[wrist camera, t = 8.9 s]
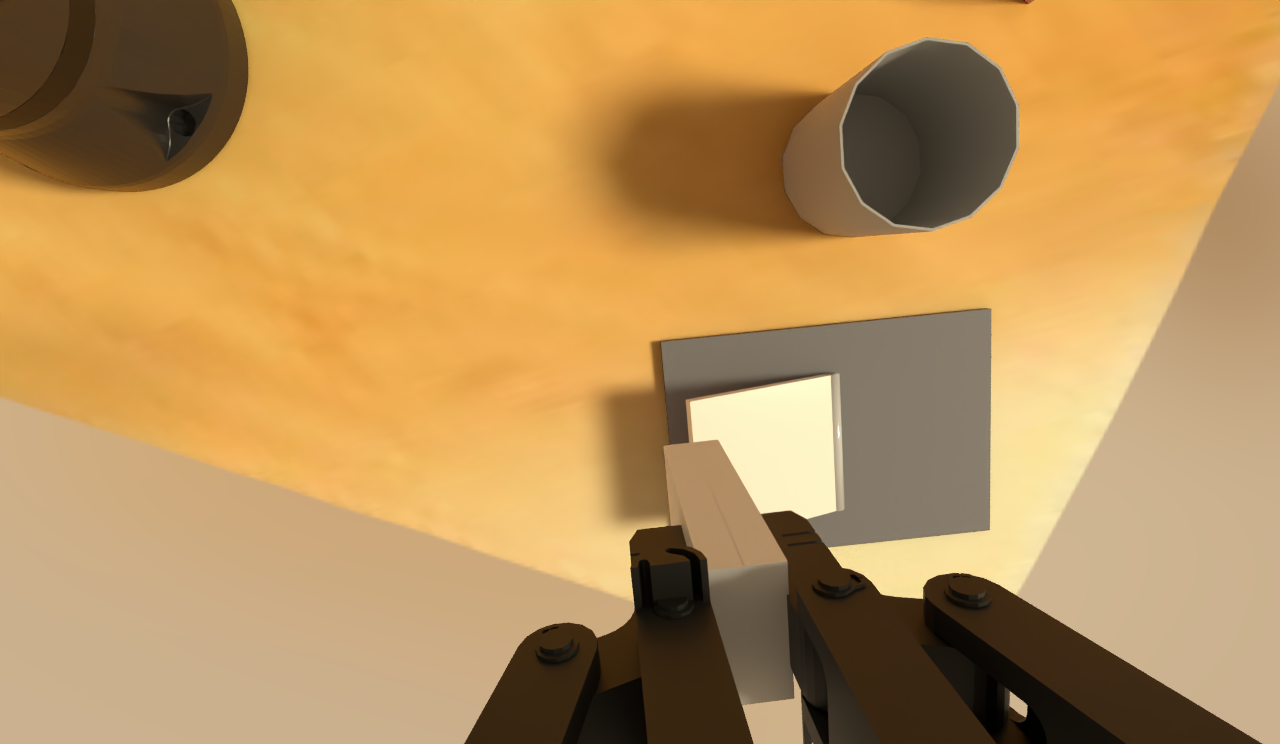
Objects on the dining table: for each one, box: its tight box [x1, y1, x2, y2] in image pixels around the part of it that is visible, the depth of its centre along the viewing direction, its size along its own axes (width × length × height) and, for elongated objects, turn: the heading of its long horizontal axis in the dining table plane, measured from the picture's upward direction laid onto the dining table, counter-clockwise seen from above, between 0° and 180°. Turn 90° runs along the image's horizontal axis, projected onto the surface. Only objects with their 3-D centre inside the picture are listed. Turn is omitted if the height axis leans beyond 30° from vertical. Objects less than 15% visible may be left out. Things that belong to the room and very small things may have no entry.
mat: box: [661, 308, 991, 547], centre depth 41 cm, size 15×21×1 cm
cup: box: [782, 37, 1019, 237], centre depth 34 cm, size 8×8×10 cm
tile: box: [686, 372, 845, 519], centre depth 39 cm, size 10×9×1 cm
